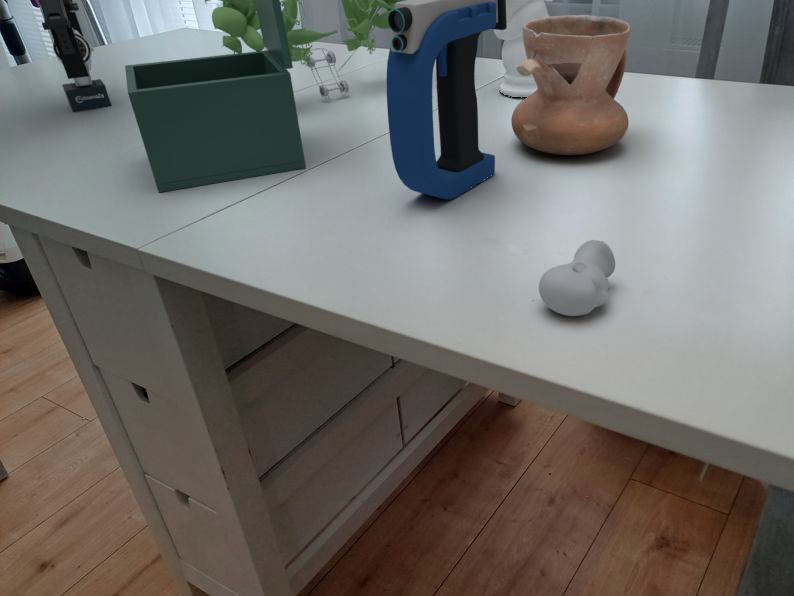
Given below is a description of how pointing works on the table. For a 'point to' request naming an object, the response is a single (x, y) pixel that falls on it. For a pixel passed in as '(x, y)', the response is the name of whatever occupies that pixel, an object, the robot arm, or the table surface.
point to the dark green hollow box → (215, 118)
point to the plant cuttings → (301, 30)
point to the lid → (274, 30)
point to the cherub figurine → (518, 45)
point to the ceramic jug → (573, 84)
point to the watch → (85, 82)
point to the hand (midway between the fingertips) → (80, 67)
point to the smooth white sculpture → (579, 280)
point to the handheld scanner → (438, 92)
